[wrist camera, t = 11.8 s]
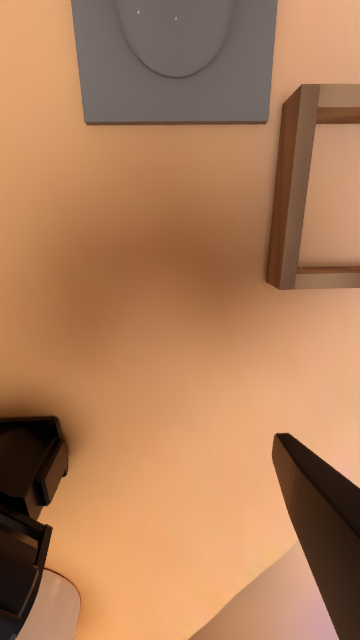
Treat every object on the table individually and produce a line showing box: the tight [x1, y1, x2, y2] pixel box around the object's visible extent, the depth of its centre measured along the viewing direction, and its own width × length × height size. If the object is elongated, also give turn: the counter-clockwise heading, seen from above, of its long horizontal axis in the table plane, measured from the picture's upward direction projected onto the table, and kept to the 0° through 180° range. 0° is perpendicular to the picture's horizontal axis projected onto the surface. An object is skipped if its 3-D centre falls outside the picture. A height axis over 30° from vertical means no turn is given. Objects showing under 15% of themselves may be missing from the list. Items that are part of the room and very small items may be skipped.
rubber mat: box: [71, 0, 278, 125], centre depth 14 cm, size 11×11×1 cm
